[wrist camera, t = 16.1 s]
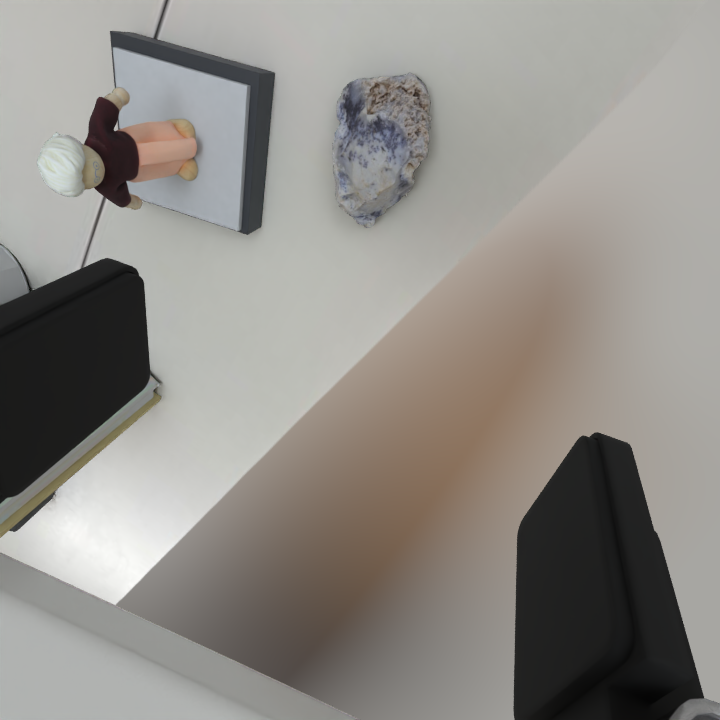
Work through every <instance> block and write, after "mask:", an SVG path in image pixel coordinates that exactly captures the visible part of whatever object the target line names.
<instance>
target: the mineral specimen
mask: <svg viewBox="0 0 720 720" xmlns="http://www.w3.org/2000/svg"><path fill="white" fill-rule="evenodd" d="M429 110H430V99H429V95H428V92H427V89H426V86H425V84H424V83H423V82H422V81H421V80H420V79H419V78H418V77H417V76H416V75H414V74H412V73H408V74H406V75H401V76H394V77H379V78H371V79H365V78H363V79H357V80H355V81H352V82H350V83H349V84H347V86H346V87H345V88H344V89H343V91H342V93H341V96H340V98H339V99H338V101H337V118H338V120H339V121H340V125H339V127H338V128H337V130H336V132H335V138H334V143H333V161H334V165H333V170H334V176H335V181H336V193H335V196H336V199H337V201H338V205H339V207H341V208H342V209H343V210H344V211H345V212H347V214H349V215H350V216H352V217H353V218H354V219H355V220H356V222H357V223H358V224H361V225H364V226H365V227H366V228H370V227H371V226H373V225H374V223H375V219H376V218H377V217H379V216H380V215H382V214H384V213H385V210H386V209H387V208H389V207H391V206H392V205H394V204H395V203H397V202H398V201H399V200H400V199H401V197H403V196H406V197H407V193H408V192H409V190H411V189H412V188H413V183H414V182H415V181H414V175H413V172H414V170H415V169H417V168H418V166H419V165H420V162H421V161H423V160H424V159H426V157H427V153H428V151H429V150H428V143H429V135H428V131H429V129H430V128H431V127H430V122H431V117H430V116H429Z"/></svg>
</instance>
